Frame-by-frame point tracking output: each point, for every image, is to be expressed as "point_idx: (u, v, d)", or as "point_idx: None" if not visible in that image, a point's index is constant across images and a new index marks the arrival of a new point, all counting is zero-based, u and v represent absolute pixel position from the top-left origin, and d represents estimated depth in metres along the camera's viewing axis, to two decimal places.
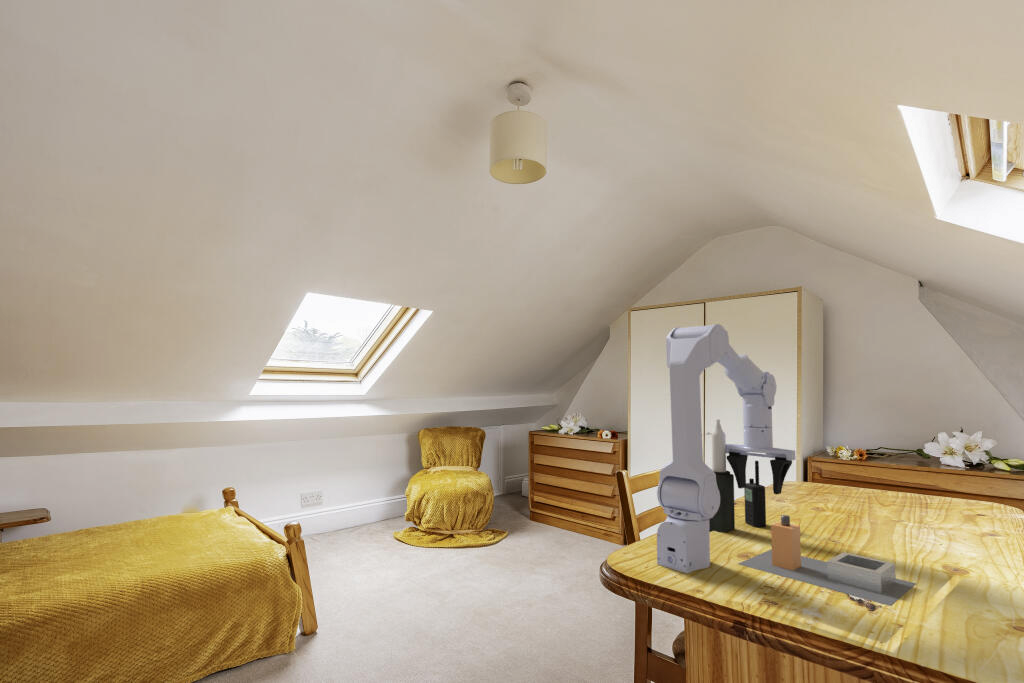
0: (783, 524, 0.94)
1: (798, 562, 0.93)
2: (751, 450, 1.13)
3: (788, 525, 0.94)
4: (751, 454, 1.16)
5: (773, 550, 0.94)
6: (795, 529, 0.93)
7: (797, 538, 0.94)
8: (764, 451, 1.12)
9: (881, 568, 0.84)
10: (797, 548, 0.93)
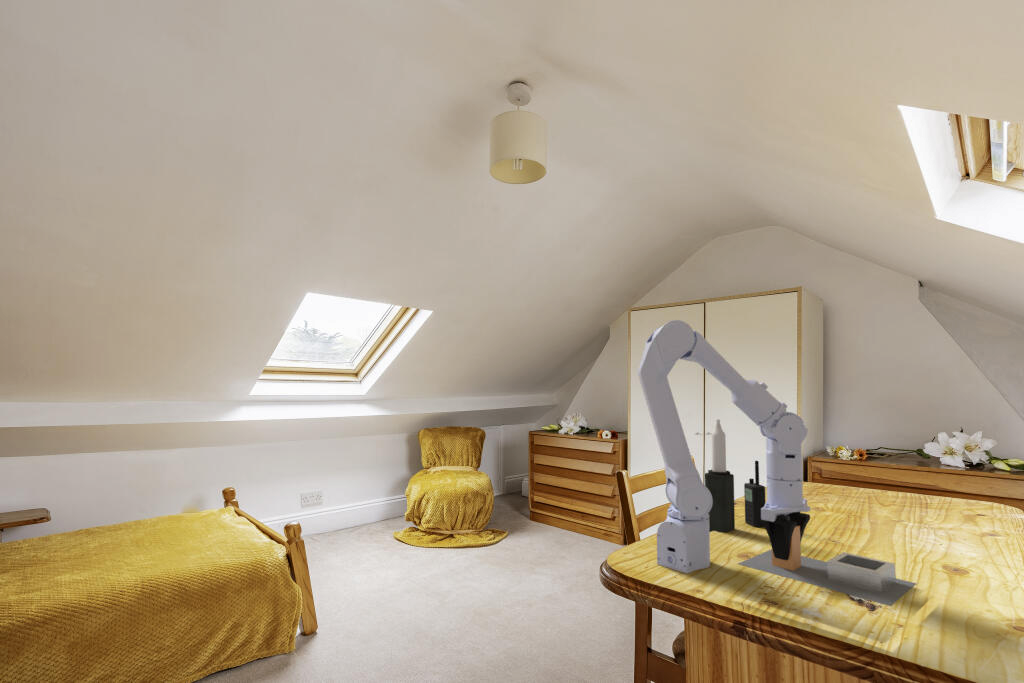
0: None
1: (798, 562, 0.93)
2: None
3: None
4: None
5: None
6: (795, 529, 0.93)
7: (797, 538, 0.94)
8: (765, 505, 0.95)
9: (881, 568, 0.84)
10: (797, 548, 0.93)
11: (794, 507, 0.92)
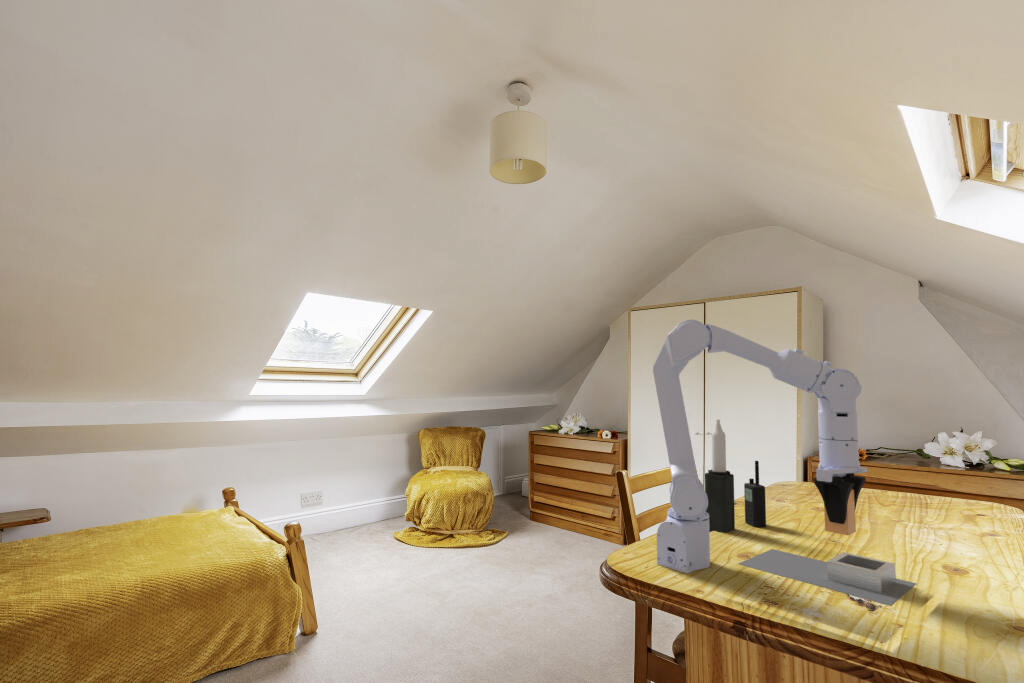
0: None
1: (853, 527, 0.89)
2: None
3: None
4: None
5: (826, 515, 0.90)
6: (850, 492, 0.89)
7: (851, 502, 0.89)
8: None
9: (881, 568, 0.84)
10: (852, 513, 0.89)
11: (851, 468, 0.87)
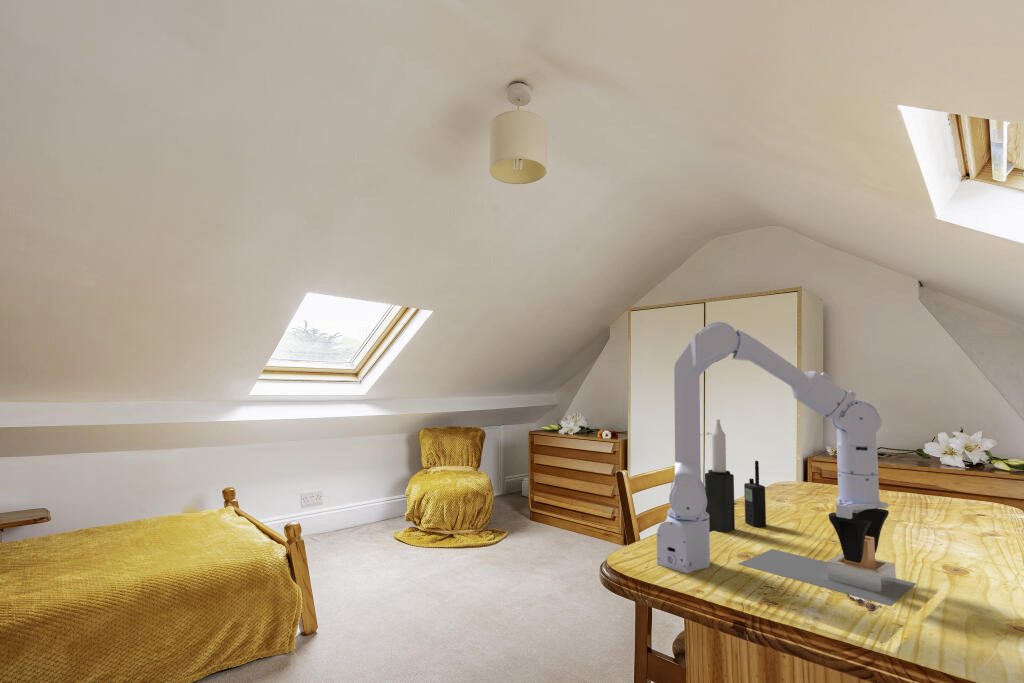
0: None
1: None
2: None
3: None
4: None
5: None
6: (870, 541, 0.86)
7: (872, 551, 0.87)
8: (837, 501, 0.88)
9: (881, 568, 0.84)
10: (872, 562, 0.86)
11: (871, 503, 0.85)
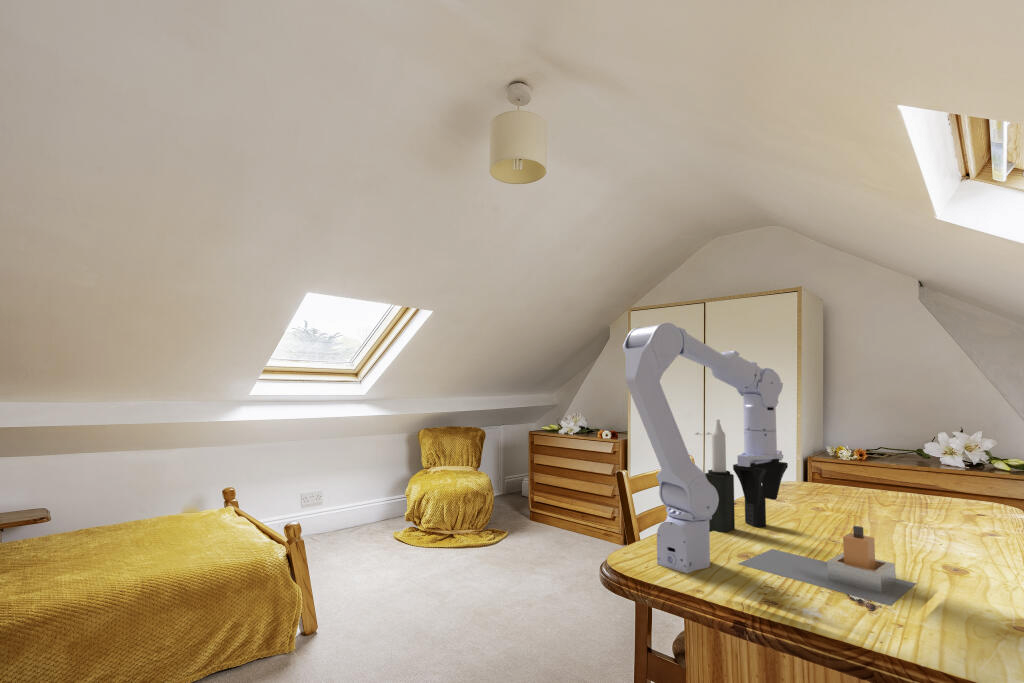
0: (856, 536, 0.87)
1: None
2: None
3: (862, 537, 0.87)
4: None
5: None
6: (870, 541, 0.86)
7: (872, 551, 0.87)
8: (742, 454, 1.03)
9: (881, 568, 0.84)
10: (872, 562, 0.86)
11: (768, 455, 1.00)
